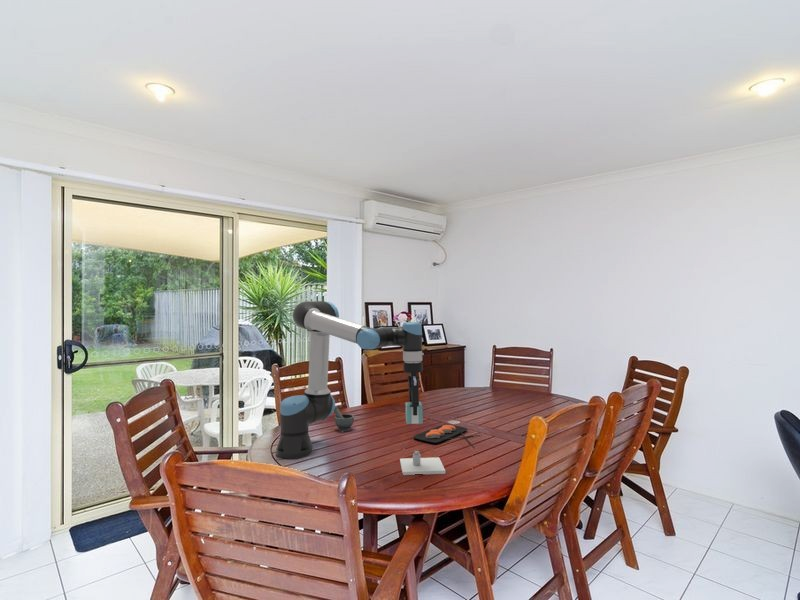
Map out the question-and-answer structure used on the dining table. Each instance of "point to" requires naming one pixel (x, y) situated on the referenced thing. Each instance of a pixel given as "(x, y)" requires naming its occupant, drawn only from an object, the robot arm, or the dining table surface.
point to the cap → (408, 412)
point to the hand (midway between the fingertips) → (414, 421)
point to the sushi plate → (442, 434)
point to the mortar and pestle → (343, 420)
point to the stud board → (421, 465)
